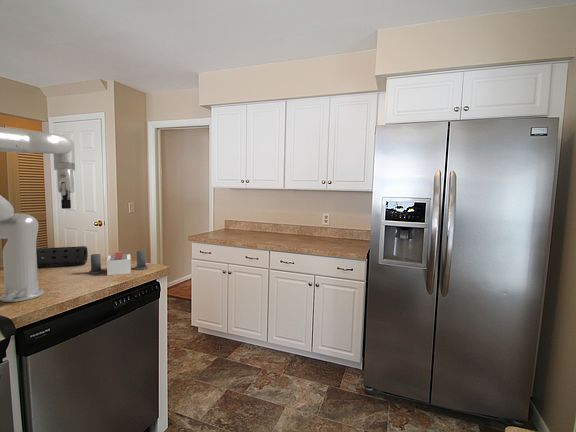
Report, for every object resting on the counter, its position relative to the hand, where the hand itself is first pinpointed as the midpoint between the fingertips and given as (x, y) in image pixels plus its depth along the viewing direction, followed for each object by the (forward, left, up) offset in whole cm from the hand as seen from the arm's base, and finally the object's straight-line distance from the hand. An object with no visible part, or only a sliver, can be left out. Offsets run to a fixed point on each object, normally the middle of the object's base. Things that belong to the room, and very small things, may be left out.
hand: (66, 208), depth 137 cm
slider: (0, -20, -24) cm, 32 cm away
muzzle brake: (+28, +10, -32) cm, 44 cm away
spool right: (+6, -30, -32) cm, 44 cm away
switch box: (+5, -20, -32) cm, 38 cm away
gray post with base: (+6, -10, -32) cm, 34 cm away
